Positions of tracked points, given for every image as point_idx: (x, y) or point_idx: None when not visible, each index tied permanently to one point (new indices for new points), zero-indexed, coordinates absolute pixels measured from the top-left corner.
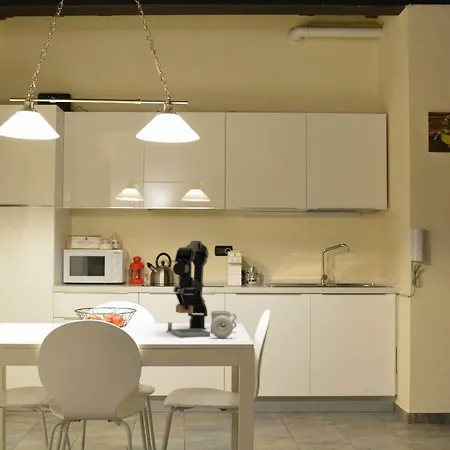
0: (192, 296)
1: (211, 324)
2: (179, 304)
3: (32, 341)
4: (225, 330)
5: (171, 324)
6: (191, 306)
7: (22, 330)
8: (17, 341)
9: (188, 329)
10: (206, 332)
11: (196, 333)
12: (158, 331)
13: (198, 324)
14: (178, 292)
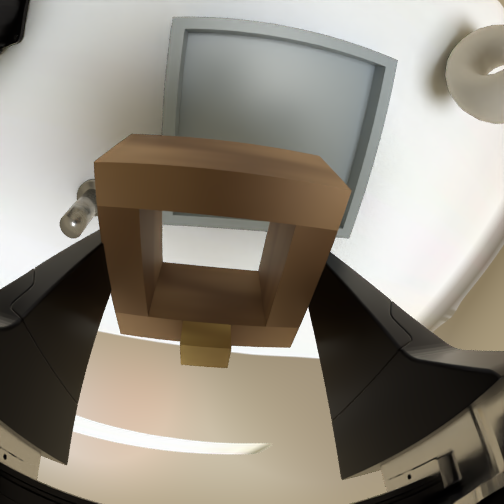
0: (489, 356)
1: (489, 121)
2: (228, 350)
3: (236, 445)
4: (498, 65)
5: (82, 212)
6: (341, 214)
7: (86, 429)
8: (228, 450)
9: (177, 109)
10: (392, 82)
11: (375, 144)
12: (65, 240)
13: (6, 10)
14: (37, 463)
